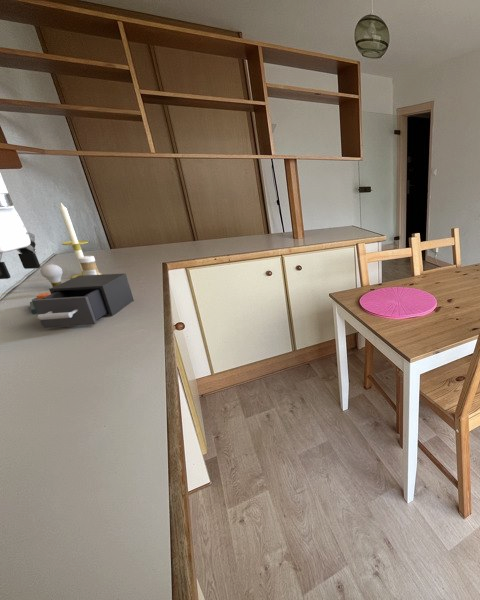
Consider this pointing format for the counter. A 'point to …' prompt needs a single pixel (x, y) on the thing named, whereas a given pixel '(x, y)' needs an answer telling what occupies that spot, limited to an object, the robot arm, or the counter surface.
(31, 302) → the block
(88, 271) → the sprinkles bottle
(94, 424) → the counter surface
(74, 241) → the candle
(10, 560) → the counter surface
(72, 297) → the dark grey drawer
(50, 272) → the light bulb
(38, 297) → the button
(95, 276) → the dark grey drawer box
